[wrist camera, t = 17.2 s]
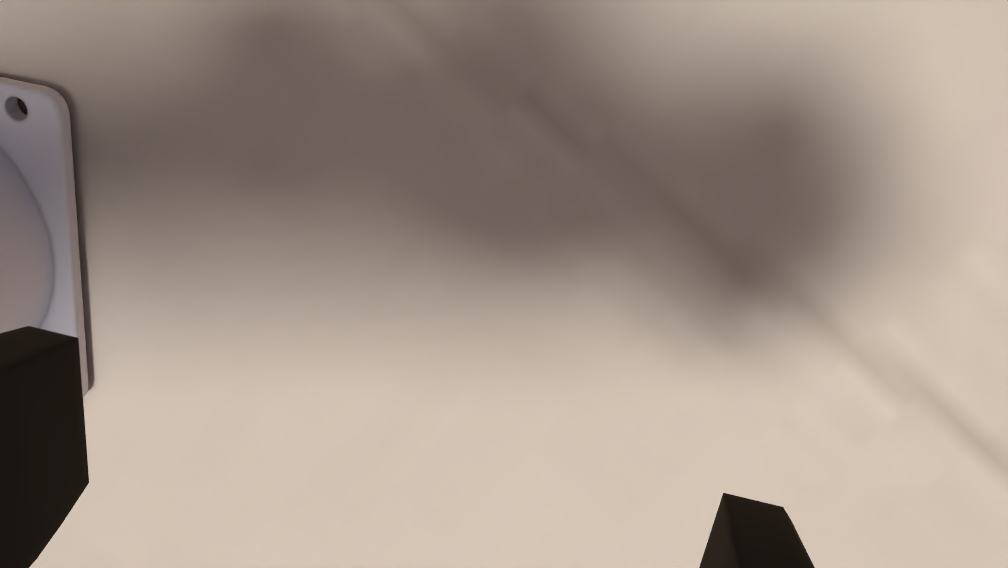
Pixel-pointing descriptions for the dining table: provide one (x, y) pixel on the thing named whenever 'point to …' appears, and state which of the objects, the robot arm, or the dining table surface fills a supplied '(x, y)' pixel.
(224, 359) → the dining table surface
